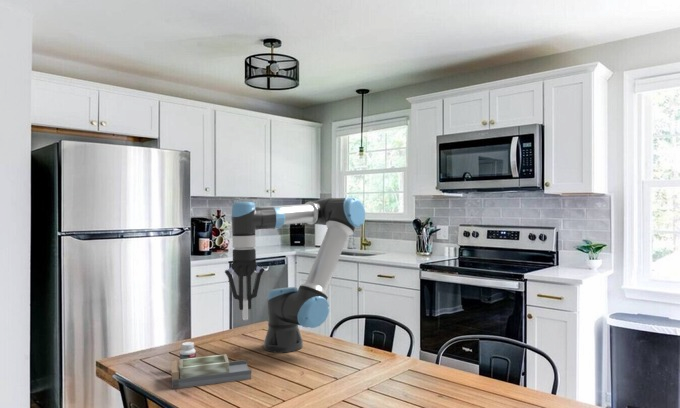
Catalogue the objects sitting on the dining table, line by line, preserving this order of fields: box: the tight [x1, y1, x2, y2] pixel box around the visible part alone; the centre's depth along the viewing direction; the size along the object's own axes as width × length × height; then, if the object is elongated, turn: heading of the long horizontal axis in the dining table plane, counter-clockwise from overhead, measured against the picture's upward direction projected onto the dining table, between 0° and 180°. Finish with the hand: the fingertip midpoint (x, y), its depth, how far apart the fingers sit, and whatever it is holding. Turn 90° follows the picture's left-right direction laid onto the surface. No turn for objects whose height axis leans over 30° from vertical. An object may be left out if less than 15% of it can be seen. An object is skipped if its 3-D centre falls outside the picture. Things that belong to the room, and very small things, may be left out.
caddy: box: [179, 353, 230, 379], centre depth 152 cm, size 15×9×4 cm, turn 109°
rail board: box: [171, 359, 252, 390], centre depth 152 cm, size 24×11×5 cm, turn 109°
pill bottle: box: [179, 341, 197, 360], centre depth 160 cm, size 5×5×9 cm
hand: (245, 319), depth 156 cm, fingers closed
